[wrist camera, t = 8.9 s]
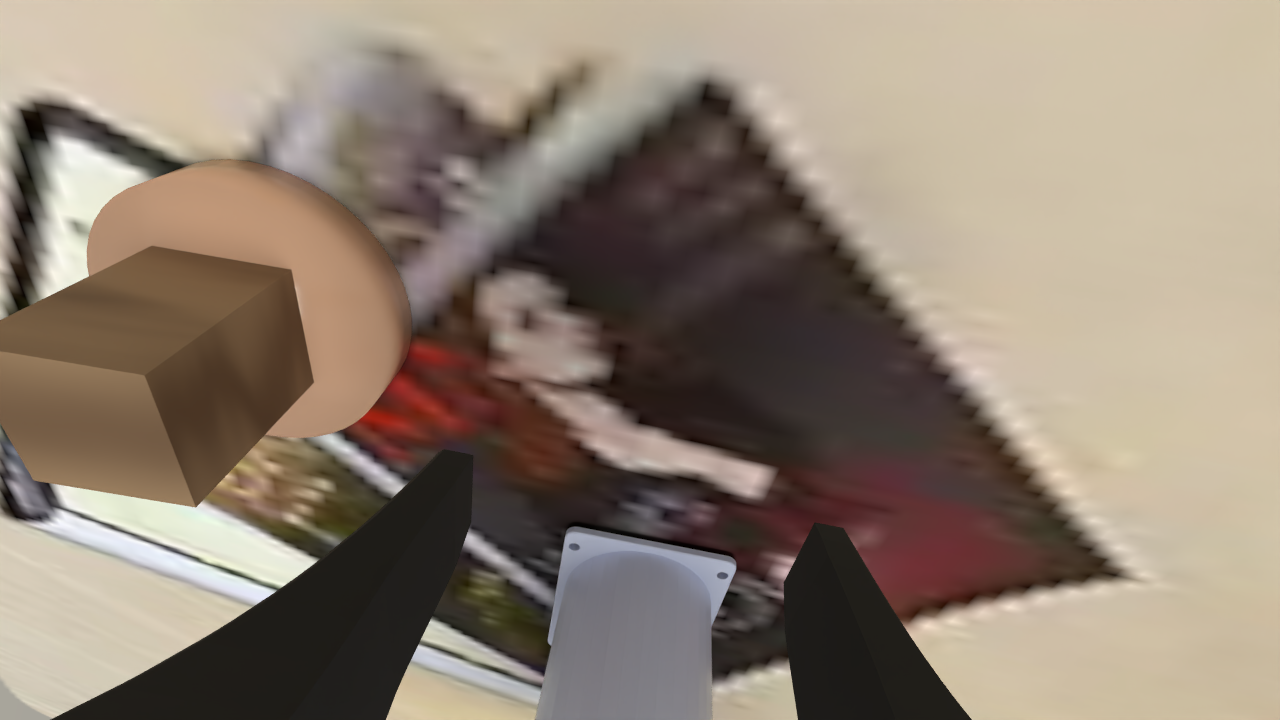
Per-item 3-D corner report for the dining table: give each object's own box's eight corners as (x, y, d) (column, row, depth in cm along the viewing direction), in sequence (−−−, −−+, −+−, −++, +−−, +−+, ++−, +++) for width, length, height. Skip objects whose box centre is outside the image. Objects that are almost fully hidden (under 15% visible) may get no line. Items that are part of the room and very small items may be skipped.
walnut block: (314, 382, 21) (195, 507, 16) (190, 361, 21) (33, 480, 16) (292, 269, 19) (144, 375, 14) (152, 245, 19) (-47, 343, 14)
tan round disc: (423, 416, 25) (397, 457, 23) (189, 376, 25) (143, 413, 23) (405, 184, 20) (370, 210, 18) (106, 132, 20) (35, 152, 18)
